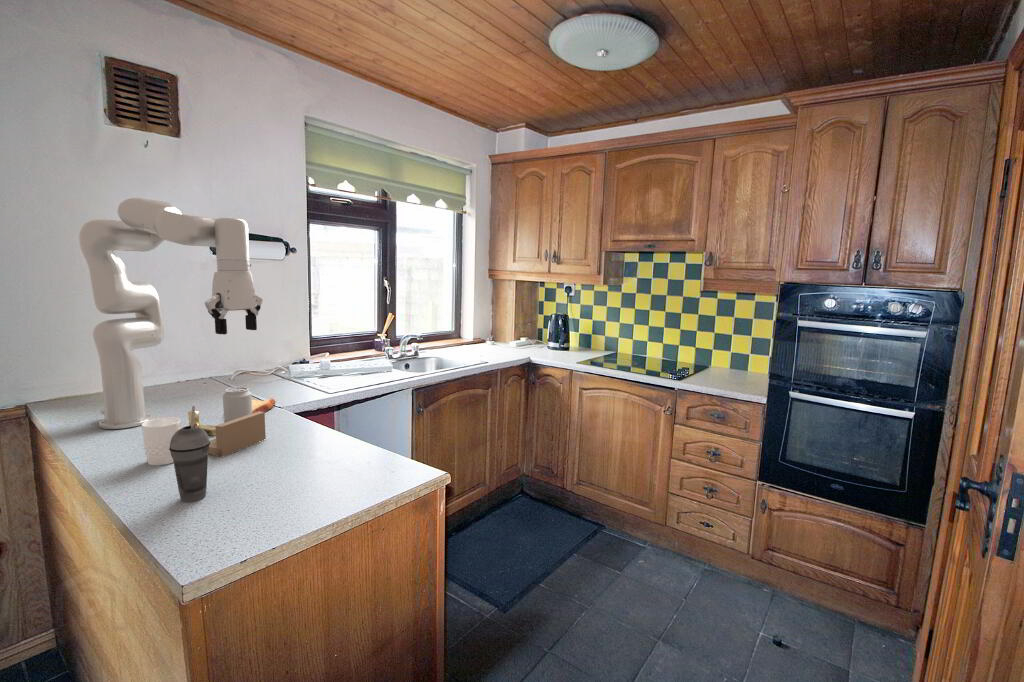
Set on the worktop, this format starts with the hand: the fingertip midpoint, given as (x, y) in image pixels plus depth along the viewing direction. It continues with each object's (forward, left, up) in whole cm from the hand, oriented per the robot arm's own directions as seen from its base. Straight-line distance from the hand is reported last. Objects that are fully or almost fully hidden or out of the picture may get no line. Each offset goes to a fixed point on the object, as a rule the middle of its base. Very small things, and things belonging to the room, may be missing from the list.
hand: (236, 331), depth 132 cm
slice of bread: (-21, +24, -32) cm, 45 cm away
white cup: (-8, -16, -31) cm, 36 cm away
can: (-12, +10, -31) cm, 35 cm away
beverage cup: (+16, -28, -31) cm, 45 cm away
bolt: (-12, -2, -29) cm, 31 cm away
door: (-9, -2, -31) cm, 32 cm away
